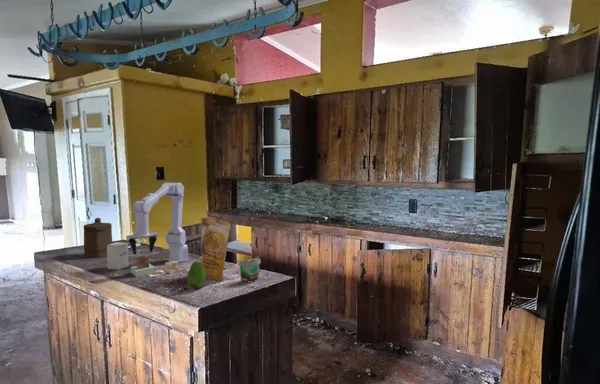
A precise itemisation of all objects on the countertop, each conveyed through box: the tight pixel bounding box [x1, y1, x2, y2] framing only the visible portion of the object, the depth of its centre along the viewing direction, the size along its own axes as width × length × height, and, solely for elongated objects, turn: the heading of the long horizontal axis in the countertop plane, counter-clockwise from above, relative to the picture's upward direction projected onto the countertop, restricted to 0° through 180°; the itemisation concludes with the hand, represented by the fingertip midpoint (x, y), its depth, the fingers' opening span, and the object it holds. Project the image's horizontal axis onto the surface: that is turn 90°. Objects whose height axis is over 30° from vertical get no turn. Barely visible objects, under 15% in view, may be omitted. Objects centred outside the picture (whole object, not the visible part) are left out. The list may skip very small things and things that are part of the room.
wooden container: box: [83, 217, 113, 259], centre depth 219 cm, size 15×15×22 cm
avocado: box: [186, 260, 207, 289], centre depth 162 cm, size 8×8×12 cm
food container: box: [238, 255, 262, 283], centre depth 173 cm, size 12×6×10 cm, turn 148°
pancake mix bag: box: [200, 217, 232, 281], centre depth 177 cm, size 7×19×28 cm, turn 52°
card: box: [148, 269, 168, 278], centre depth 183 cm, size 8×8×1 cm
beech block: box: [164, 261, 179, 275], centre depth 185 cm, size 4×4×5 cm
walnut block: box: [135, 255, 150, 269], centre depth 182 cm, size 4×4×5 cm
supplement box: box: [106, 242, 129, 271], centre depth 192 cm, size 7×7×13 cm
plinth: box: [130, 262, 156, 278], centre depth 183 cm, size 9×9×3 cm
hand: (142, 252), depth 182 cm, fingers open, 7 cm apart
